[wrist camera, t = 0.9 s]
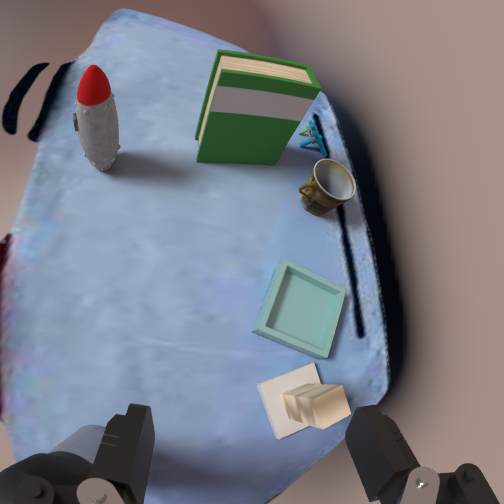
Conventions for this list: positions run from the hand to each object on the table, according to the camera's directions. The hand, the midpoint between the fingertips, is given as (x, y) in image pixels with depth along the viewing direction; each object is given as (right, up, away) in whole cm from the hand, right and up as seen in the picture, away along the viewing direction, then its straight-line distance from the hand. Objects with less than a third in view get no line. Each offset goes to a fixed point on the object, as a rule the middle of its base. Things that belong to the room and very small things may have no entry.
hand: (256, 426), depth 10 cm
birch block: (+8, -19, +38) cm, 43 cm away
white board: (+7, -20, +39) cm, 45 cm away
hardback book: (-4, +29, +56) cm, 63 cm away
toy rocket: (-31, +25, +45) cm, 60 cm away
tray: (+8, -5, +46) cm, 47 cm away
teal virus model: (+15, +34, +64) cm, 74 cm away
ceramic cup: (+12, +17, +56) cm, 60 cm away
